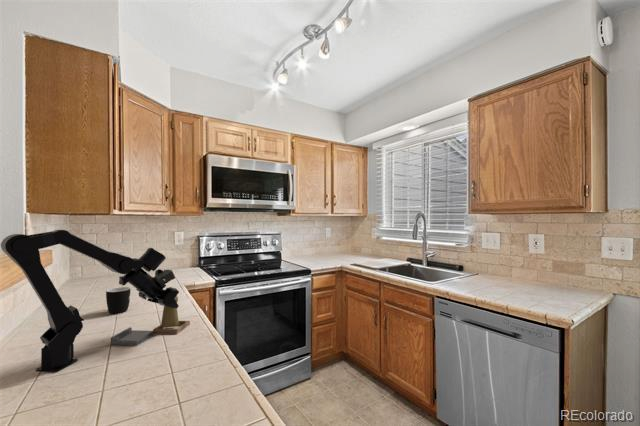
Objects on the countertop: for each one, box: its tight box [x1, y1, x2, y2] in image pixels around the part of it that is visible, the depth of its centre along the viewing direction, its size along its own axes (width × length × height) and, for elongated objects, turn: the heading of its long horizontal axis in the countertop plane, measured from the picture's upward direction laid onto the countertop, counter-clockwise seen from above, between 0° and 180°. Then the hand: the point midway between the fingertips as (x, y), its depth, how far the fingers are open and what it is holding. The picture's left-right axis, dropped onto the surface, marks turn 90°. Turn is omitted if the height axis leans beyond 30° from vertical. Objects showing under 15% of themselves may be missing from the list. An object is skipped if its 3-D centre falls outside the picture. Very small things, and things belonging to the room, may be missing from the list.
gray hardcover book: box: [110, 327, 154, 346], centre depth 99 cm, size 8×9×2 cm
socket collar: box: [152, 320, 191, 335], centre depth 108 cm, size 9×9×2 cm
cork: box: [160, 295, 180, 329], centre depth 108 cm, size 6×6×11 cm
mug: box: [105, 286, 131, 315], centre depth 130 cm, size 12×9×10 cm
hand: (173, 306), depth 109 cm, fingers closed on cork, 5 cm apart
